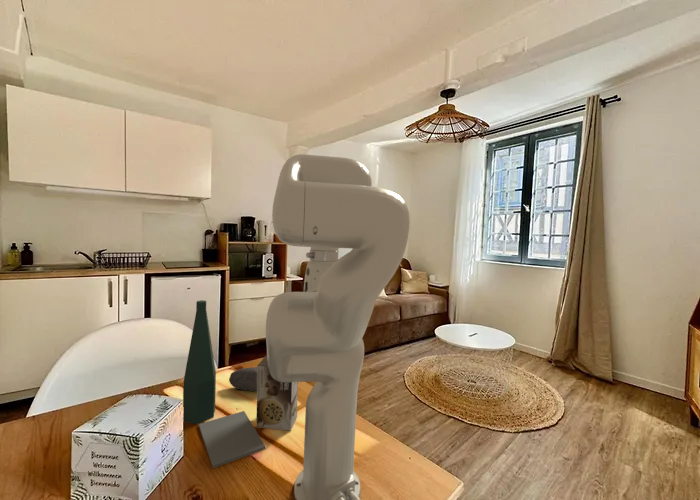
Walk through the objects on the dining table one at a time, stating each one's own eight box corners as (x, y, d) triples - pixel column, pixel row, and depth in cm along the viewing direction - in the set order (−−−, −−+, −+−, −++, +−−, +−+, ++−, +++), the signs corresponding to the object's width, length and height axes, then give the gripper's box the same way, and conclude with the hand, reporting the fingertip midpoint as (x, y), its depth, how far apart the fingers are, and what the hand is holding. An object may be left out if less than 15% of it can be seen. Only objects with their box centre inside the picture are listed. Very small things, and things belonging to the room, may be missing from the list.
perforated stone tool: (225, 391, 94) (225, 369, 93) (233, 383, 99) (233, 362, 99) (274, 396, 93) (275, 373, 92) (279, 387, 98) (280, 365, 98)
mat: (265, 448, 71) (265, 446, 71) (213, 468, 64) (213, 465, 64) (244, 413, 84) (244, 410, 84) (198, 426, 77) (198, 424, 77)
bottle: (213, 403, 87) (215, 297, 85) (218, 418, 81) (221, 303, 79) (181, 411, 83) (182, 299, 81) (183, 427, 76) (185, 306, 74)
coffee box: (297, 416, 83) (299, 357, 82) (290, 431, 77) (293, 367, 76) (264, 412, 84) (266, 354, 83) (254, 427, 78) (256, 364, 77)
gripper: (305, 258, 77) (303, 331, 79) (354, 257, 86) (351, 323, 87) (292, 255, 84) (290, 323, 85) (339, 255, 92) (336, 316, 94)
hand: (321, 323), depth 86 cm, fingers closed
